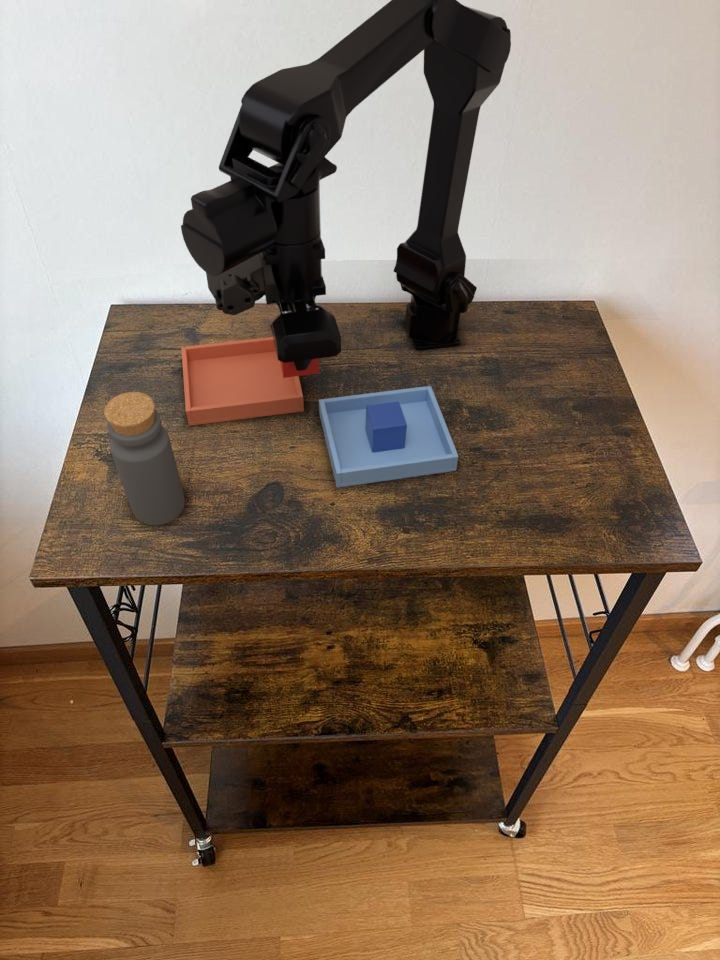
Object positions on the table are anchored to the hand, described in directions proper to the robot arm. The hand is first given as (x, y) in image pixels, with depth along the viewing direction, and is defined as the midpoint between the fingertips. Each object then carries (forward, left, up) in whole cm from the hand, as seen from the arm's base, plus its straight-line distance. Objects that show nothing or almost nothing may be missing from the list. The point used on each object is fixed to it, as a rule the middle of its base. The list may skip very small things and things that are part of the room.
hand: (298, 356), depth 82 cm
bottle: (+18, +9, -11) cm, 23 cm away
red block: (0, 0, -1) cm, 1 cm away
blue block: (-9, +4, -10) cm, 15 cm away
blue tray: (-9, +4, -11) cm, 15 cm away
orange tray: (+7, -9, -11) cm, 15 cm away
